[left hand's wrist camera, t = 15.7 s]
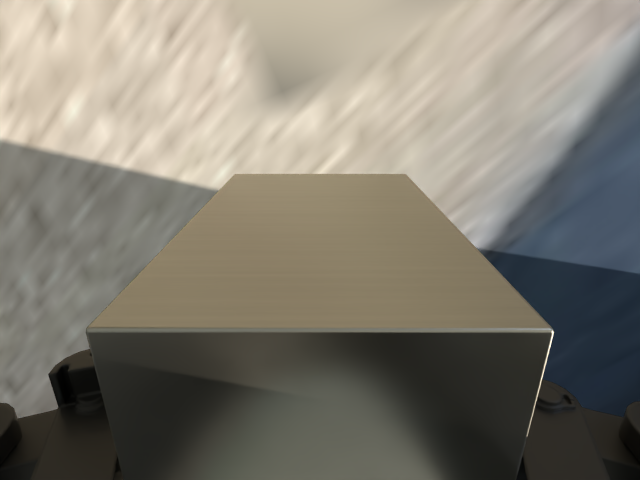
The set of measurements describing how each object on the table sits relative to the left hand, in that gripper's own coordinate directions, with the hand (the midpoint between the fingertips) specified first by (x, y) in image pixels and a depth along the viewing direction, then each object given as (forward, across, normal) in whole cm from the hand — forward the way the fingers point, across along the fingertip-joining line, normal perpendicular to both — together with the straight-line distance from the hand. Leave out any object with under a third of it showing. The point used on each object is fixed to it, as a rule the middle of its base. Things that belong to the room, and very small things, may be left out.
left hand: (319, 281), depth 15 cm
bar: (+1, 0, -9) cm, 9 cm away
